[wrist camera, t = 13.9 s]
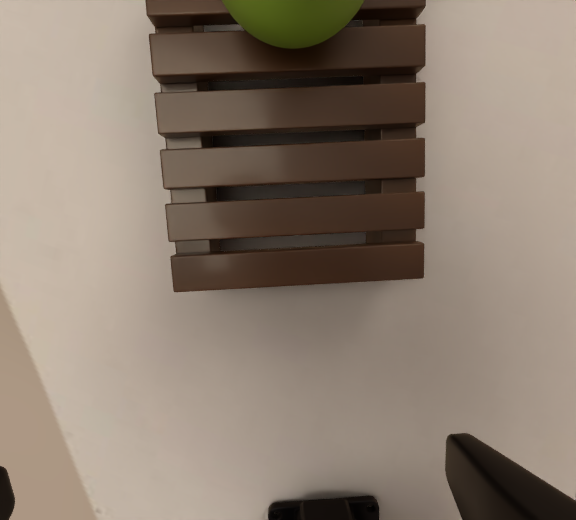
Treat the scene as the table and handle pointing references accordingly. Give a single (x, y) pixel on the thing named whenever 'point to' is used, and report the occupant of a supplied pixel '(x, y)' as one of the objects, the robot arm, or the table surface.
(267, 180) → the rack
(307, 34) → the snail figurine
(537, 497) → the robot arm
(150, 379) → the table surface
